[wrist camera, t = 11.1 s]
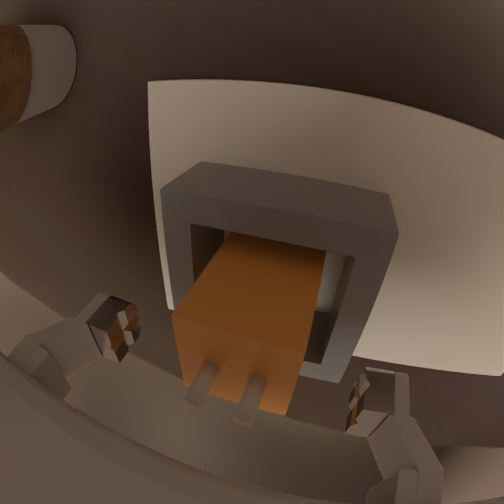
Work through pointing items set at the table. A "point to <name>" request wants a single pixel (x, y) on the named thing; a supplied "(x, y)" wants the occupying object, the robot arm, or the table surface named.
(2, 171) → the table surface
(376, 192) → the white board with socket
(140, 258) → the table surface
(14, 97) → the coffee cup
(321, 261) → the plug
